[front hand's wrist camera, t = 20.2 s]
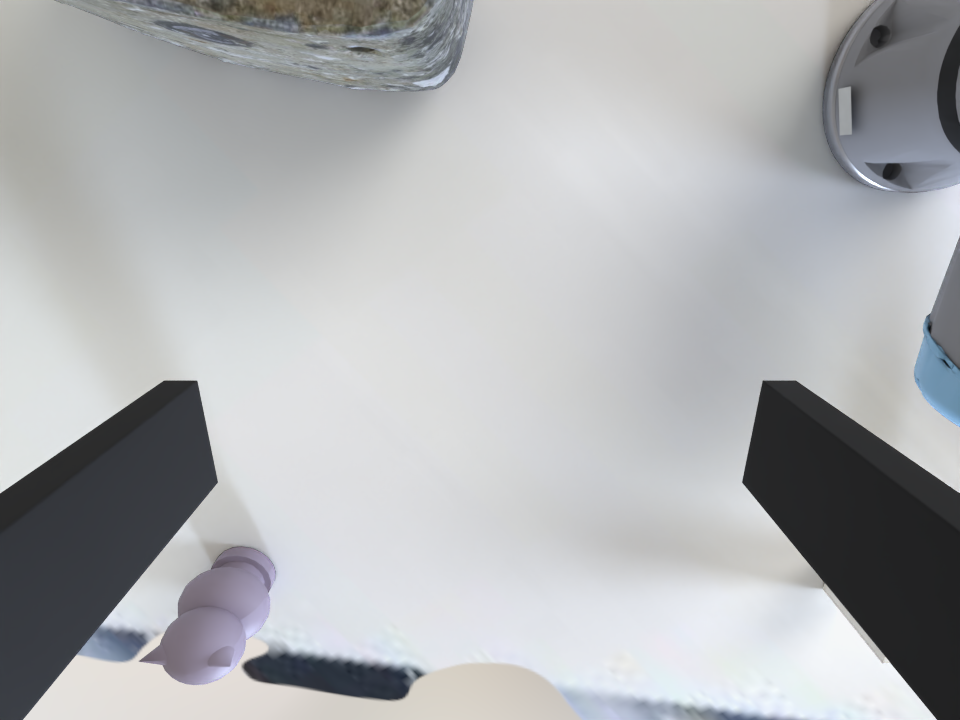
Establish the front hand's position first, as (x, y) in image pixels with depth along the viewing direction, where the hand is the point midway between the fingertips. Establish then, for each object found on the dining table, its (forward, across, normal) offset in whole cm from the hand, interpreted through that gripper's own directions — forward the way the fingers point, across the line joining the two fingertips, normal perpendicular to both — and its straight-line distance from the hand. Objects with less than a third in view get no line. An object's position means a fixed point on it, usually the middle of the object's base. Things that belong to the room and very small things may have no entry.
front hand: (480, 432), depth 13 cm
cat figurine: (+34, -25, -35) cm, 54 cm away
